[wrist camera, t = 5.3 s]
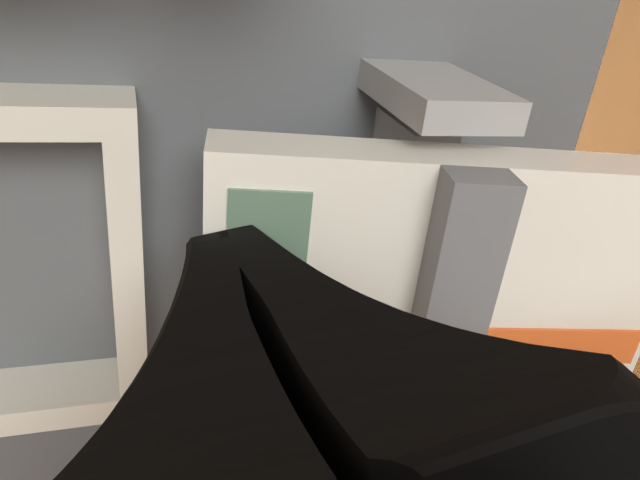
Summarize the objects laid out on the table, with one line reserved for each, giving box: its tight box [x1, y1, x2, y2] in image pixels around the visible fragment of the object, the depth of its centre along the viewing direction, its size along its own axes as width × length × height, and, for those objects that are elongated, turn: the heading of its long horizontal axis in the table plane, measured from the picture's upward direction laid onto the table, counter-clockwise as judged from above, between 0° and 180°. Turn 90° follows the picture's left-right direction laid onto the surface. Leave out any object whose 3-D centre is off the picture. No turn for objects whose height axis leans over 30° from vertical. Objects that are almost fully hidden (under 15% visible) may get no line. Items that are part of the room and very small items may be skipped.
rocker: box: [203, 128, 640, 372], centre depth 11 cm, size 9×4×2 cm, turn 84°
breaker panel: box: [0, 0, 620, 480], centre depth 11 cm, size 19×23×4 cm
